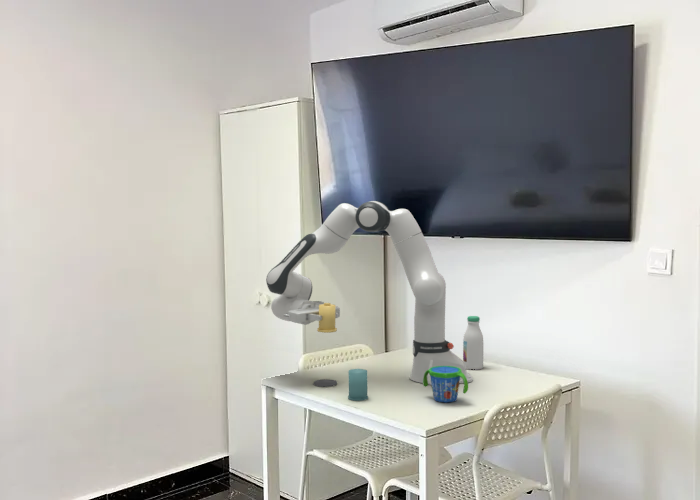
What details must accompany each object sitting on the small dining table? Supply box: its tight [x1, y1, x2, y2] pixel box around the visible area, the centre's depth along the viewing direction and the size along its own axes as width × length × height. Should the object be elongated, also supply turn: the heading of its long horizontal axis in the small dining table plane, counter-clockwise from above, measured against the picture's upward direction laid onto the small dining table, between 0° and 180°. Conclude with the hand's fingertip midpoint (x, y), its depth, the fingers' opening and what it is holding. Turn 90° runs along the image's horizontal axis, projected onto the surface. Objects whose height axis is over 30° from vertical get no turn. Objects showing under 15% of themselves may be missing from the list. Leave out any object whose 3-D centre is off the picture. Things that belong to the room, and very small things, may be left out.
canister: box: [347, 368, 369, 402], centre depth 229 cm, size 7×7×9 cm
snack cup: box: [422, 366, 469, 403], centre depth 226 cm, size 16×10×10 cm
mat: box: [313, 378, 338, 388], centre depth 248 cm, size 8×8×1 cm
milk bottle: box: [462, 315, 484, 371], centre depth 269 cm, size 8×8×20 cm
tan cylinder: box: [316, 302, 338, 334], centre depth 244 cm, size 7×7×10 cm
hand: (328, 317), depth 244 cm, fingers closed on tan cylinder, 6 cm apart
